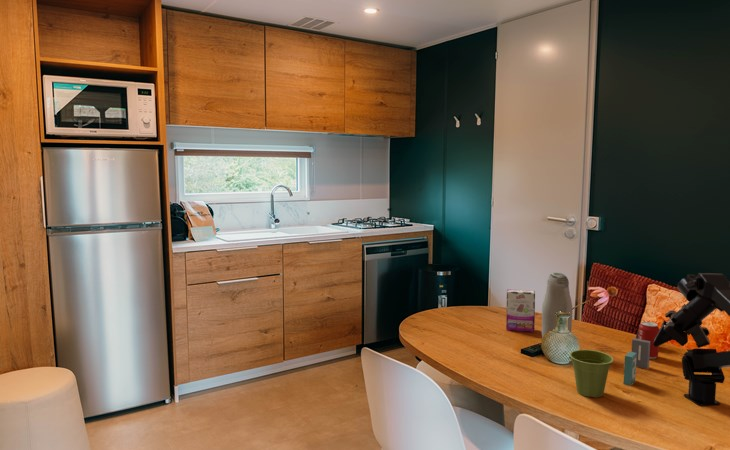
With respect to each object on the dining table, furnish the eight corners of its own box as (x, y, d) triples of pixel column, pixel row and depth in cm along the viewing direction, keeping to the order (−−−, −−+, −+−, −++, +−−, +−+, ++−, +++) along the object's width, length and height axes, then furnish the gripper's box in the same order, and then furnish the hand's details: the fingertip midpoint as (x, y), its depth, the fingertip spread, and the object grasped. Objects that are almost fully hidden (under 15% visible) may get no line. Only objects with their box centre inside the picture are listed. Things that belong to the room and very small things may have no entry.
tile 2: (636, 380, 162) (637, 353, 161) (631, 385, 159) (632, 357, 158) (627, 378, 164) (629, 351, 163) (622, 383, 160) (624, 355, 159)
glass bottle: (576, 350, 190) (579, 274, 187) (554, 354, 186) (556, 277, 183) (557, 341, 199) (559, 269, 196) (535, 345, 195) (537, 272, 192)
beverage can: (660, 360, 179) (662, 327, 178) (640, 359, 180) (642, 325, 179) (654, 354, 185) (656, 321, 184) (635, 353, 186) (637, 320, 185)
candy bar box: (534, 329, 214) (535, 290, 213) (534, 332, 210) (535, 293, 208) (506, 326, 218) (507, 288, 216) (505, 330, 213) (506, 291, 211)
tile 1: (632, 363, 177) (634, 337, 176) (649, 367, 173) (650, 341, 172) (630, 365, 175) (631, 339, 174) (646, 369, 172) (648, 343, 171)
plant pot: (575, 381, 162) (576, 346, 161) (616, 391, 155) (618, 355, 153) (562, 394, 153) (563, 357, 152) (605, 405, 146) (607, 367, 144)
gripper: (723, 341, 138) (677, 377, 145) (718, 322, 154) (677, 355, 160) (686, 310, 142) (643, 347, 148) (686, 295, 158) (647, 329, 164)
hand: (654, 345), depth 155 cm, fingers closed
